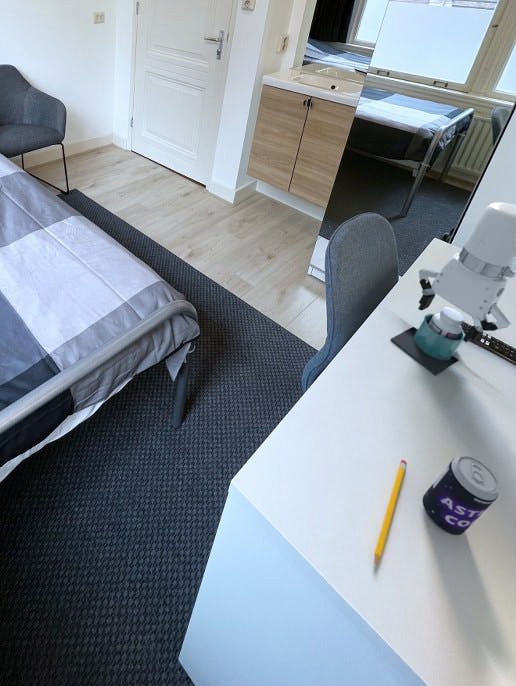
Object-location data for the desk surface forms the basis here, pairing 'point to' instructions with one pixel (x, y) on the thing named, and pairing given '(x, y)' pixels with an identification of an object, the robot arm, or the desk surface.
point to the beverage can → (460, 494)
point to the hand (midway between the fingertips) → (444, 323)
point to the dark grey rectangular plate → (421, 352)
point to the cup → (436, 341)
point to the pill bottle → (447, 323)
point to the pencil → (389, 513)
